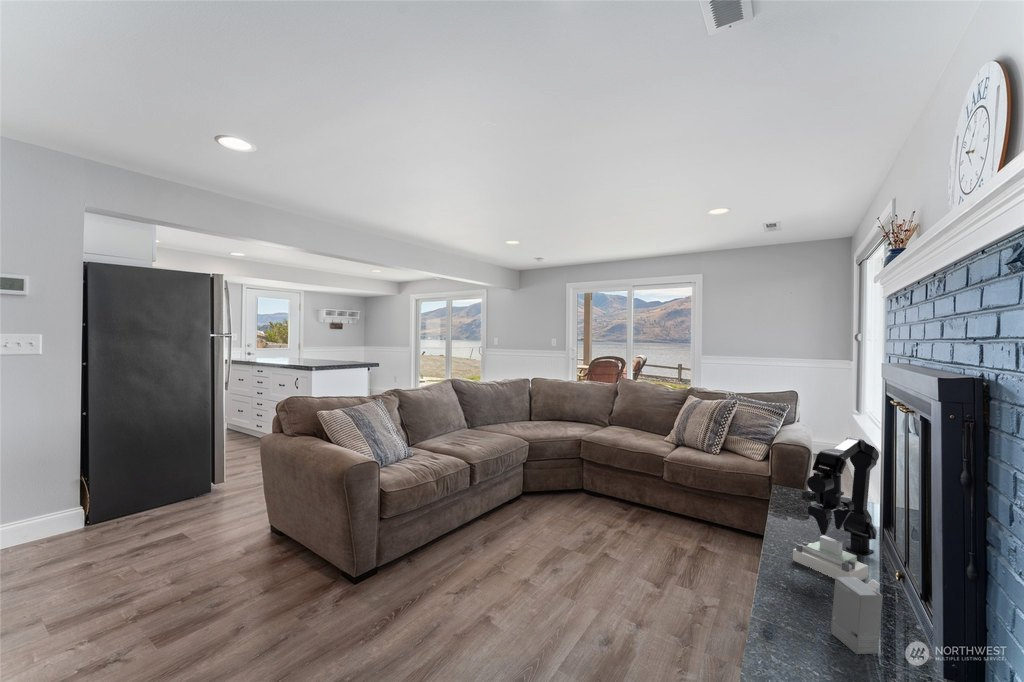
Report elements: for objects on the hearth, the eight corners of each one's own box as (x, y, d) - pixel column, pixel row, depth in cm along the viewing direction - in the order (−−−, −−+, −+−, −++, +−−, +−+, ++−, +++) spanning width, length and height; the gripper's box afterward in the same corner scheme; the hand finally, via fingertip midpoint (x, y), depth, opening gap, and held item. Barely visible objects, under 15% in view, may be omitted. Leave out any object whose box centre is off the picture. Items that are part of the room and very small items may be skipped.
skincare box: (830, 633, 118) (830, 575, 118) (854, 632, 119) (854, 574, 118) (857, 656, 110) (857, 594, 109) (883, 654, 110) (883, 592, 110)
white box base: (810, 553, 162) (810, 536, 161) (867, 577, 145) (868, 559, 145) (793, 560, 157) (793, 543, 157) (850, 585, 141) (850, 566, 140)
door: (812, 544, 160) (813, 528, 160) (863, 564, 146) (863, 546, 146) (799, 549, 157) (799, 532, 156) (849, 570, 142) (849, 552, 142)
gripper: (820, 476, 164) (820, 518, 164) (791, 484, 155) (791, 528, 155) (855, 486, 154) (854, 529, 154) (825, 495, 145) (825, 541, 145)
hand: (830, 531), depth 152 cm, fingers open, 9 cm apart
